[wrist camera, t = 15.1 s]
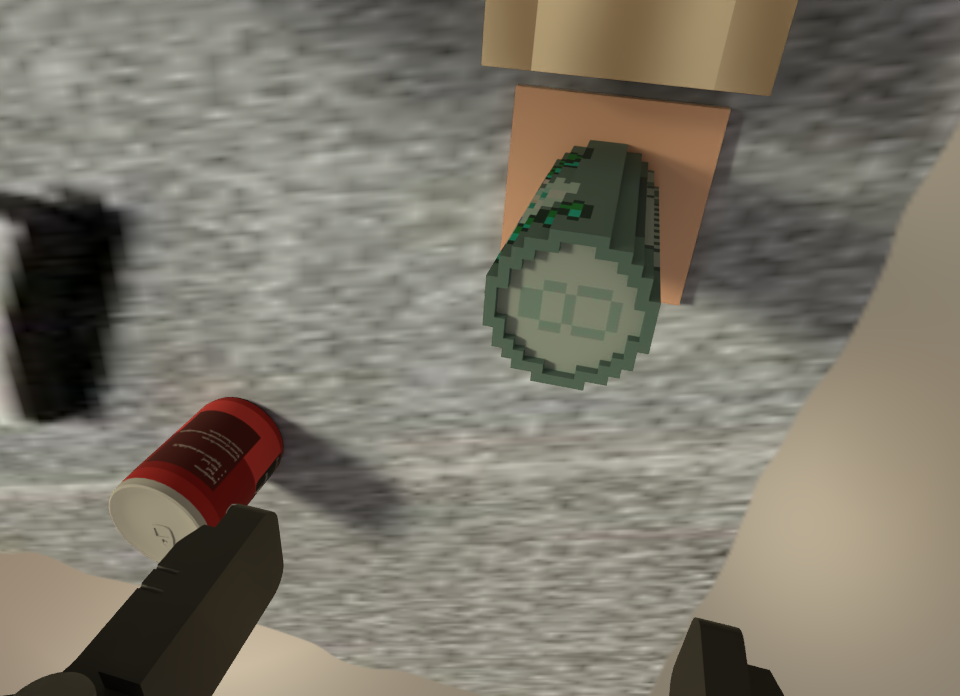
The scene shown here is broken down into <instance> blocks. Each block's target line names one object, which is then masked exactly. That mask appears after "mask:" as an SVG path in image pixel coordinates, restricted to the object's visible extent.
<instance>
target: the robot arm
mask: <svg viewBox="0 0 960 696" xmlns="http://www.w3.org/2000/svg"><path fill="white" fill-rule="evenodd" d="M282 573H283V555H282V548H281V540H280V532H279V525H278V518H277V515H276V513H274V512H272V511H268V510H264V509H260V508H255V507H251V506H247V505H243V504H236V505H234V506H233V507H232V508H231V509H230V510H229V511H228V512H227V513H226V514H225V516H224V517H223V518H222V519H221V521H220V522H219V523H218V524H217V525H216V527H212V526H208V525H202V526H201V527H199V528H198V529H196V530H195V531H193V532H191V533H190V534H188V535H187V536H185V537H184V538H182V539H181V540H179V541H178V542H177V543H176V544H175V545H174V546H173V547H172V549H171V550H170V551H169V552H168V553H167V554H166V556H165V557H164V558H163V559H162V560H161V561H160V562H159V564H158V567H157V569H153V571H152V572H151V573H150V574H149V575H148V576H147V578H146V579H145V580H144V581H143V582H142V585H141V587H140V588H137V589H136V590H135V592H134V593H133V594H132V595H131V596H130V597H129V599H128V600H127V601H126V602H125V603H124V605H123V606H122V607H121V608H120V609H119V610H118V611H117V612H116V614H115V615H114V616H113V617H112V618H111V620H110V621H109V622H108V623H107V624H106V625H105V627H104V628H103V629H102V630H101V631H100V632H99V633H98V635H97V636H96V637H95V638H94V639H93V640H92V641H91V643H90V644H89V645H88V646H87V647H86V648H85V650H84V651H83V652H82V653H81V654H80V655H79V657H78V658H77V659H76V660H75V661H74V662H73V663H72V664H71V665H70V666H69V667H68V668H66V669H65V670H64V671H63V672H59V673H55V674H50V675H48V676H45V677H42V678H40V679H38V680H35V681H34V682H32V683H30V684H28V685H27V686H25V687H24V688H22V689H21V690H20V691H18V692H17V693H16V694H13V695H6V696H212V694H213V693H214V691H215V690H216V688H217V686H218V685H219V683H220V682H221V680H222V678H223V677H224V675H225V674H226V672H227V670H228V669H229V667H230V666H231V664H232V662H233V661H234V659H235V658H236V656H237V654H238V653H239V651H240V649H241V648H242V646H243V645H244V643H245V641H246V640H247V638H248V637H249V635H250V633H251V632H252V630H253V628H254V627H255V625H256V624H257V622H258V621H259V619H260V617H261V616H262V614H263V613H264V611H265V609H266V608H267V606H268V605H269V603H270V601H271V600H272V598H273V596H274V595H275V593H276V591H277V589H278V586H279V584H280V581H281V577H282ZM669 696H784V695H783V693H782V691H781V689H780V688H779V686H778V684H777V682H776V680H775V679H774V677H773V675H772V673H771V672H770V670H767V669H763V668H759V667H756V666H752V665H748V664H747V659H746V652H745V645H744V639H743V635H742V632H741V630H740V629H739V628H736V627H732V626H729V625H725V624H721V623H716V622H712V621H708V620H704V619H700V618H694V619H693V620H692V623H691V625H690V627H689V630H688V632H687V635H686V637H685V640H684V642H683V645H682V648H681V650H680V652H679V655H678V657H677V660H676V662H675V665H674V668H673V672H672V677H671V683H670V693H669Z"/></svg>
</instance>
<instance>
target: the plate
mask: <svg viewBox="0 0 960 696" xmlns="http://www.w3.org/2000/svg"><path fill="white" fill-rule="evenodd" d="M730 111H731V109H730V108H729V107H722V106H713V105H704V104H695V103H686V102H677V101H668V100H659V99H650V98H640V97H631V96H622V95H613V94H604V93H595V92H586V91H577V90H568V89H559V88H550V87H541V86H532V85H523V84H518V85H517V86H516V91H515V102H514V112H513V123H512V134H511V144H510V155H509V166H508V177H507V187H506V198H505V209H504V219H503V230H502V241H501V250H502V248H503V247H504V245H505V244H506V242H507V240H508V239H509V237H510V235H511V234H512V232H513V230H514V229H515V227H516V225H517V224H518V222H519V220H520V219H521V217H522V215H523V214H524V212H525V210H526V209H527V207H528V206H529V204H530V202H531V201H532V199H533V197H534V196H535V194H536V192H537V191H538V189H539V187H540V186H541V184H542V182H543V181H544V179H545V177H546V176H547V174H548V173H549V172H550V170H551V169H552V167H553V165H554V164H555V162H556V160H557V159H562V158H563V156H564V154H565V153H566V152H567V153H570V152H571V150H572V148H573V147H574V146H581V147H587V145H588V143H589V141H590V140H597V141H606V142H614V143H623V144H628V148H627V152H632V153H640V154H642V161H641V162H648V170H651V171H654V186H656V187H659V222H660V283H661V303H667V304H673V305H679V304H680V300H681V296H682V293H683V289H684V285H685V281H686V277H687V274H688V270H689V266H690V262H691V258H692V255H693V251H694V247H695V243H696V240H697V236H698V232H699V228H700V224H701V221H702V217H703V213H704V209H705V206H706V202H707V198H708V194H709V190H710V187H711V183H712V179H713V175H714V172H715V168H716V164H717V160H718V156H719V153H720V149H721V145H722V141H723V137H724V134H725V130H726V126H727V122H728V119H729V115H730ZM500 252H501V251H500Z"/></svg>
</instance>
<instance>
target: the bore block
mask: <svg viewBox="0 0 960 696" xmlns="http://www.w3.org/2000/svg"><path fill="white" fill-rule="evenodd" d="M797 3H798V0H486V1H485V16H484V31H483V47H482V62H481V65H483V66H492V67H501V68H511V69H520V70H529V71H539V72H548V73H558V74H567V75H576V76H586V77H595V78H604V79H614V80H623V81H633V82H642V83H651V84H661V85H670V86H679V87H689V88H698V89H708V90H717V91H726V92H736V93H745V94H755V95H764V96H770V95H771V92H772V88H773V85H774V82H775V78H776V75H777V71H778V68H779V64H780V61H781V58H782V54H783V51H784V47H785V44H786V41H787V37H788V34H789V30H790V27H791V23H792V20H793V17H794V13H795V10H796V6H797Z"/></svg>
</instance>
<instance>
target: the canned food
mask: <svg viewBox="0 0 960 696" xmlns="http://www.w3.org/2000/svg"><path fill="white" fill-rule="evenodd" d="M282 453H283V440H282V437H281V434H280V431H279V429H278V428H277V426H276V424H275V423H274V422H273V420H272V419H271V418H270V417H269V416H268V415H267V414H266V413H265V412H264V411H263V410H261V409H260V408H259V407H257V406H256V405H254V404H252V403H250V402H248V401H246V400H243V399H240V398H234V397H225V398H221V399H218V400H215V401H213V402H211V403H209V404H207V405H206V406H204V407H203V408H202V409H201V410H200V411H199V412H198V413H197V414H196V415H194V416H193V417H192V418H191V419H190V420H189V421H188V422H187V423H186V424H185V425H183V426H182V427H181V428H180V429H179V430H178V431H177V432H176V433H175V434H173V435H172V436H171V437H170V438H169V439H168V440H167V441H166V442H165V443H164V444H162V445H161V446H160V447H159V448H158V449H157V450H156V451H155V452H154V453H152V454H151V455H150V456H149V457H148V458H147V459H146V460H145V461H144V462H143V463H141V464H140V465H139V466H138V467H137V468H136V469H135V470H134V471H133V472H132V473H131V474H130V475H129V476H128V477H127V478H125V479H124V480H123V481H122V482H121V483H120V484H119V485H118V486H117V487H116V489H115V490H114V491H113V492H112V493H111V496H110V498H109V511H110V515H111V518H112V520H113V522H114V524H115V526H116V527H117V529H118V530H119V532H120V533H121V534H122V536H123V537H124V538H125V539H126V540H127V541H128V542H129V543H130V544H131V545H132V546H133V547H135V548H136V549H137V550H138V551H140V552H141V553H143V554H144V555H146V556H147V557H149V558H151V559H153V560H154V561H156V562H160V561H161V560H162V559H163V558H164V557H165V556H166V554H167V553H168V552H169V551H170V550H171V549H172V547H173V546H174V545H175V544H176V543H177V542H178V541H179V540H181V539H182V538H184V537H185V536H187V535H188V534H190V533H191V532H193V531H195V530H196V529H198V528H199V527H201V526H202V525H208V526H212V527H216V525H217V524H218V523H219V522H220V521H221V519H222V518H223V517H224V516H225V514H226V513H227V512H228V511H229V510H230V509H231V508H232V507H233V506H234V505H236V504H243V505H248V504H249V503H250V501H251V500H252V499H253V498H254V496H255V495H256V494H257V492H258V491H259V490H260V489H261V487H262V486H263V485H264V484H265V482H266V481H267V480H268V479H269V477H270V476H271V475H272V473H273V472H274V471H275V470H276V468H277V467H278V465H279V463H280V460H281V456H282Z"/></svg>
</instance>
